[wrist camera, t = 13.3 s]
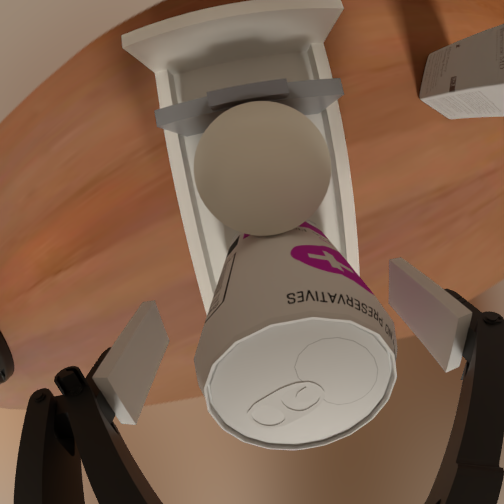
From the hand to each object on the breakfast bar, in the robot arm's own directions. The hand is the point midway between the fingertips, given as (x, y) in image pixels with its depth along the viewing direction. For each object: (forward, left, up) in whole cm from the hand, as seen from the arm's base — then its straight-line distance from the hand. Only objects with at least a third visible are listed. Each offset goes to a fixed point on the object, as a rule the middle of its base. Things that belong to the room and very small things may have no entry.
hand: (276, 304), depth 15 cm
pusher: (0, +11, -9) cm, 14 cm away
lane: (0, +6, -10) cm, 12 cm away
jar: (0, +7, -9) cm, 12 cm away
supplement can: (+1, -1, -9) cm, 9 cm away
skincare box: (+19, +13, -11) cm, 26 cm away
